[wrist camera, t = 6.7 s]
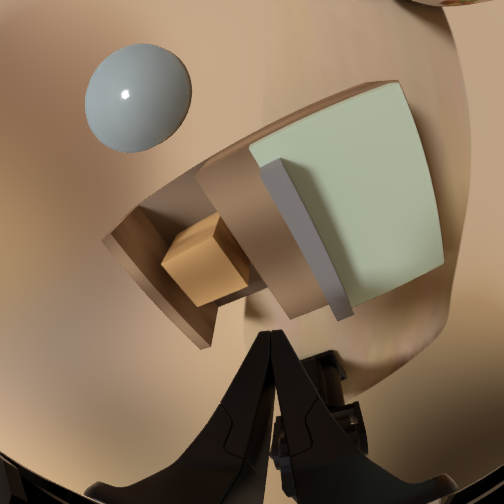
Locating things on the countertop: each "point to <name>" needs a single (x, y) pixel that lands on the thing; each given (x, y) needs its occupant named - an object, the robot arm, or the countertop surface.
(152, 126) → the grey dome cap
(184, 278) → the block
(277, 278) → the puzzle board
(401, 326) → the countertop surface
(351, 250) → the cover
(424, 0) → the spread jar
